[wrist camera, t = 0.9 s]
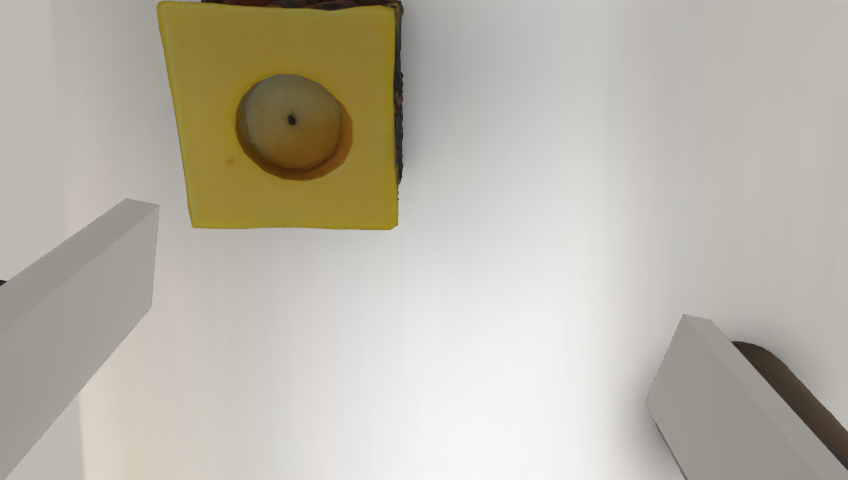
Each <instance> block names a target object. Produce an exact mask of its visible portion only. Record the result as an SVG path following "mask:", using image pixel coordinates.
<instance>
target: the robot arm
mask: <svg viewBox="0 0 848 480" xmlns="http://www.w3.org/2000/svg"><path fill="white" fill-rule="evenodd" d="M159 206H160V205H156V204H152V203H147V202H142V201H137V200H132V199H128V198H126V199H125V200H123V201H122V202H120V203H119V204H117V205H116V206H115V207H113V208H112V209H110V210H109V211H107V212H106V213H105V214H103V215H102V216H100V217H99V218H97V219H96V220H94V221H93V222H92V223H90V224H89V225H87V226H86V227H84V228H83V229H82V230H80V231H79V232H77V233H76V234H74V235H73V236H72V237H70V238H69V239H67V240H66V241H64V242H63V243H62V244H60V245H59V246H57V247H56V248H54V249H53V250H52V251H50V252H49V253H47V254H46V255H44V256H43V257H42V258H40V259H39V260H37V261H36V262H34V263H33V264H32V265H30V266H29V267H27V268H26V269H24V270H23V271H22V272H20V273H19V274H17V275H16V276H14V277H13V278H11V279H10V280H9V281H4V280H0V480H5V478H6V477H7V476H8V475H9V474H10V473H11V471H12V470H13V469H14V468H15V467H16V466H17V464H18V463H19V462H20V461H21V460H22V459H23V457H24V456H25V455H26V454H27V453H28V451H29V450H30V449H31V448H32V447H33V445H34V444H35V443H36V442H37V441H38V440H39V438H40V437H41V436H42V435H43V434H44V432H45V431H46V430H47V429H48V428H49V427H50V426H51V424H52V423H53V422H54V421H55V420H56V419H57V417H58V416H59V415H60V414H61V413H62V411H63V410H64V409H65V408H66V407H67V406H68V404H69V403H70V402H71V401H72V400H73V399H74V397H75V396H76V395H77V394H78V393H79V392H80V390H81V389H82V388H83V387H84V386H85V385H86V383H87V382H88V381H89V380H90V379H91V377H92V376H93V375H94V374H95V373H96V372H97V370H98V369H99V368H100V367H101V366H102V365H103V363H104V362H105V361H106V360H107V359H108V358H109V356H110V355H111V354H112V353H113V352H114V350H115V349H116V348H117V347H118V346H119V345H120V343H121V342H122V341H123V340H124V339H125V338H126V336H127V335H128V334H129V333H130V332H131V330H132V329H133V328H134V327H135V326H136V325H137V323H138V322H139V321H140V320H141V319H142V318H143V316H144V315H145V314H146V313H147V312H148V311H149V309H150V308H151V304H152V292H153V279H154V267H155V255H156V243H157V231H158V218H159ZM645 404H646V406H647V407H648V409H649V411H650V413H651V414H652V416H653V418H654V420H655V422H656V423H657V425H658V427H659V429H660V430H661V432H662V434H663V436H664V438H665V439H666V441H667V443H668V445H669V447H670V448H671V450H672V452H673V454H674V455H675V457H676V459H677V461H678V463H679V464H680V466H681V468H682V470H683V472H684V473H685V475H686V477H687V479H688V480H848V463H847V462H846V461H845V459H844V458H843V457H842V456H841V455H840V454H839V453H838V452H836V451H835V450H834V449H832V448H831V447H830V446H828V445H827V444H826V443H824V442H823V441H822V440H820V439H819V438H818V437H817V436H816V435H815V434H814V433H813V432H812V431H811V430H810V429H809V428H808V426H807V425H806V424H805V423H804V422H803V421H802V420H801V419H800V418H799V416H798V415H797V414H796V413H795V412H794V411H793V410H792V409H791V408H790V407H789V405H788V404H787V403H786V402H785V401H784V400H783V399H782V398H781V397H780V396H779V394H778V393H777V392H776V391H775V390H774V389H773V388H772V387H771V386H770V385H769V383H768V382H767V381H766V380H765V379H764V378H763V377H762V376H761V375H760V373H759V372H758V371H757V370H756V369H755V368H754V367H753V366H752V365H751V364H750V362H749V361H748V360H747V359H746V358H745V357H744V356H743V355H742V354H741V353H740V351H739V350H738V349H737V348H736V347H735V346H734V345H733V344H732V343H731V342H730V340H729V339H728V338H727V337H726V336H725V335H724V334H723V333H722V332H721V330H720V329H719V328H718V327H717V326H716V325H715V324H714V323H713V322H712V321H711V320H708V319H704V318H699V317H694V316H689V315H684V314H683V315H682V318H681V320H680V322H679V325H678V327H677V329H676V332H675V334H674V336H673V339H672V341H671V343H670V346H669V348H668V350H667V353H666V355H665V357H664V360H663V362H662V364H661V367H660V369H659V371H658V374H657V376H656V378H655V381H654V383H653V385H652V388H651V390H650V392H649V395H648V397H647V399H646V402H645Z"/></svg>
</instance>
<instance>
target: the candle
mask: <svg viewBox="0 0 848 480" xmlns="http://www.w3.org/2000/svg"><path fill="white" fill-rule="evenodd" d="M403 12H404V10H403V6H402V4H401V1H399V0H201V3H195V2H172V1H164V2H159V3H158V5H157V14H158V21H159V29H160V34H161V38H162V43H163V48H164V54H165V60H166V66H167V72H168V78H169V83H170V88H171V93H172V98H173V104H174V110H175V116H176V122H177V129H178V135H179V142H180V148H181V155H182V162H183V168H184V175H185V182H186V189H187V200H188V209H189V214H190V218H191V223H192V227H193V228H210V229H248V228H272V227H300V228H322V229H360V230H391V229H392V228H394V227H396V226H397V225H398V200H399V198H398V194H399V193H398V186H399V184H400V182H401V178H402V169H403V163H402V157H403V155H402V139H403V132H402V131H403V127H402V120H403V114H402V109H403V108H402V100H403V97H402V93H403V91H402V87H403V82H402V78H403V74H402V73H401V71H400V69H401V60H400V50H401V19H402V15H403Z"/></svg>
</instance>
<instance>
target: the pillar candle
mask: <svg viewBox="0 0 848 480" xmlns="http://www.w3.org/2000/svg"><path fill="white" fill-rule="evenodd" d="M731 343H732V344H733V345H734V346H735V347H736V348H737V349H738V350H739V351H740V353H741V354H742V355H743V356H744V357H745V358H746V359H747V360H748V361H749V362H750V364H751V365H752V366H753V367H754V368H755V369H756V370H757V371H758V372H759V373H760V375H761V376H762V377H763V378H764V379H765V380H766V381H767V382H768V383H769V385H770V386H771V387H772V388H773V389H774V390H775V391H776V392H777V393H778V394H779V396H780V397H781V398H782V399H783V400H784V401H785V402H786V403H787V404H788V405H789V407H790V408H791V409H792V410H793V411H794V412H795V413H796V414H797V415H798V416H799V418H800V419H801V420H802V421H803V422H804V423H805V424H806V425H807V426H808V428H809V429H810V430H811V431H812V432H813V433H814V434H815V435H816V436H817V437H818V438H819V439H820V440H822V441H823V442H824V443H826V444H827V445H828V446H830V447H831V448H832V449H834V450H835V451H836V452H838V453H839V454H840V455H841V456H842V457H843V458H844V459H845V461H846V462H847V463H848V432H847V430H846V429H845V428H844V427H843V426H842V425H841V424H840V423H839V421H838V420H837V419H836V418H835V417H834V416H833V415H832V414H831V413H830V412H829V411H828V410H827V409H826V408H825V407H824V406H823V405H822V404H821V403H820V402H819V401H818V400H817V399H816V398H815V397H814V395H813V394H812V393H811V392H810V391H809V390H808V389H807V388H806V386H805V385H804V384H803V383H802V382H801V381H800V380H799V379H798V378H797V377H796V376H795V375H794V374H793V373H792V372H791V371H790V370H789V368H788V367H787V366H786V365H785V364H784V363H783V362H782V361H781V360H779V359H778V358H776V357H775V356H774V355H773V354H772V353H771V352H769V351H766V350H765V349H764V348H761V347H758V346H755V345H753V344H748V345H747V343H739V342H737V343H734V342H731ZM656 425H657V423H656ZM657 427H658V425H657ZM658 430H659V432H660V434H661V436H662V437H663V439H664V441H665V443H666V444H667V446H668V448H669V450H670V452H671V454H672V456H673V458H674V460H675V461H676V463H677V465H678V467H679V469H680V471H681V473H682V475H683V477H684V478H685V480H688V479H687V477H686V475H685V473H684V472H683V470H682V468H681V466H680V464H679V463H678V461H677V459H676V457H675V455H674V454H673V452H672V450H671V448H670V447H669V445H668V443H667V441H666V439H665V438H664V436H663V434H662V432H661V430H660V429H659V427H658Z"/></svg>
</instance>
